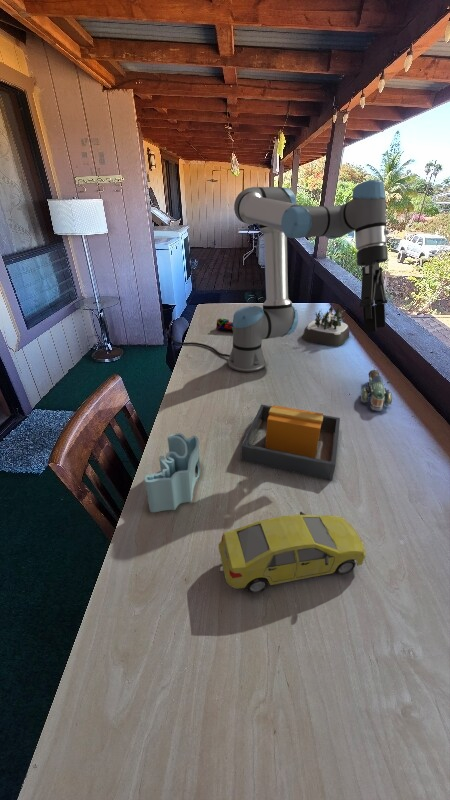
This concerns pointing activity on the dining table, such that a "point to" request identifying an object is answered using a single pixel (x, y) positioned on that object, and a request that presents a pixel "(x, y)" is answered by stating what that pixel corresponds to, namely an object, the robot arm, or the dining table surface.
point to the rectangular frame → (286, 459)
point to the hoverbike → (376, 391)
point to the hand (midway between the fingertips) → (375, 329)
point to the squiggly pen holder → (174, 474)
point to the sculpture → (224, 324)
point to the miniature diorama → (327, 329)
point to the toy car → (289, 550)
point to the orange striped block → (293, 431)
